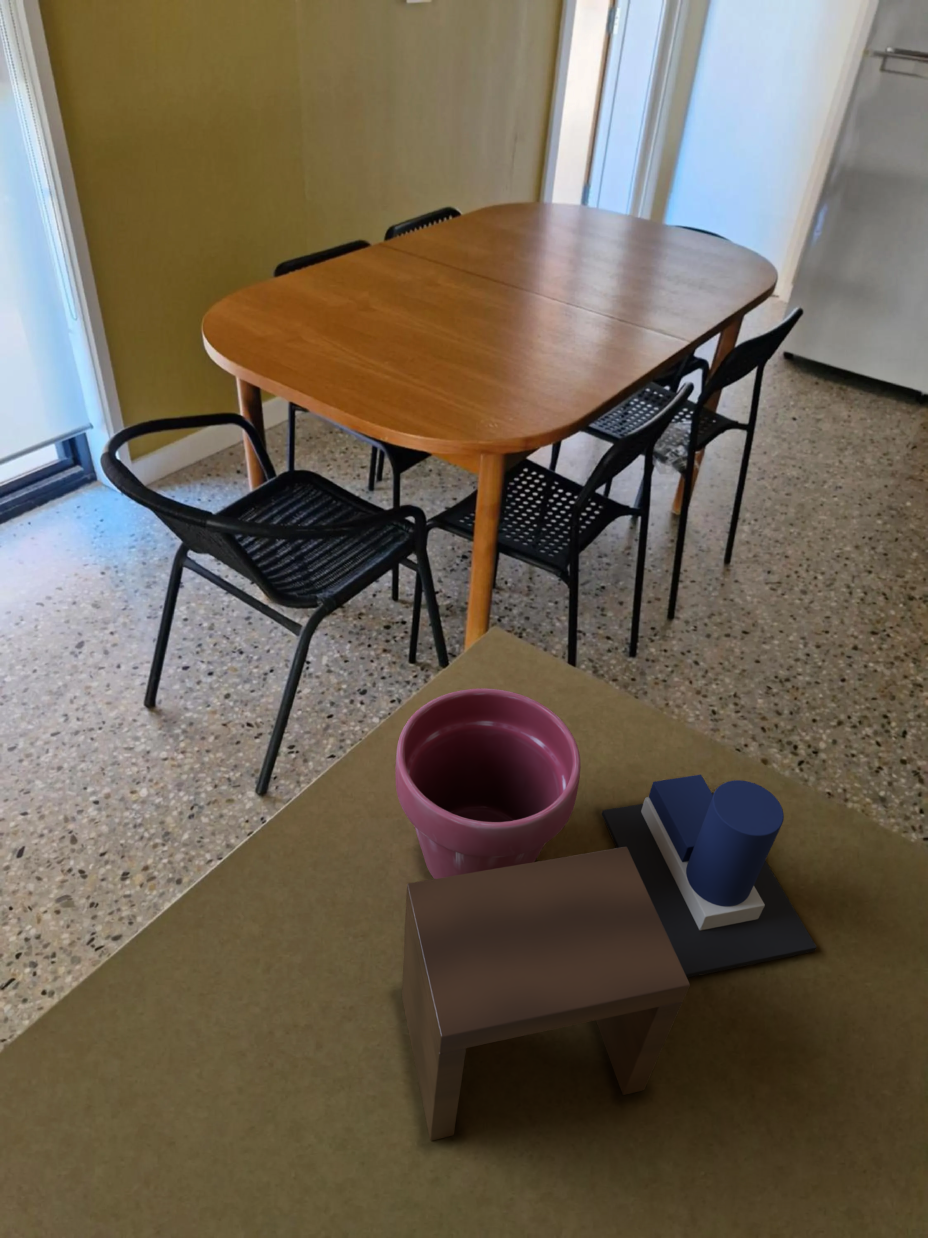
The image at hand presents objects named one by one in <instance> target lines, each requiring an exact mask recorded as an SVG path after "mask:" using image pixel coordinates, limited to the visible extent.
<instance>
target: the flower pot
mask: <svg viewBox="0 0 928 1238" xmlns="http://www.w3.org/2000/svg"><path fill="white" fill-rule="evenodd" d="M395 755H396V756H395V770H394V771H395V789H396V795H397V799H398V802H399V804H400V806H401V809H402V811H403V812H404V814H405V816H406V817H407V819H408V820H409V822H410V823H411V824H412V825H413V826H414V829H415V833H416V836H417V840H418V844H419V846H420V849H421V852H422V854H423V858H424V859H423V860H424V862H425V865H426V868H427V870H428V872H429V873H430V875H431V876H432V879H437V878H443V877H449V876H455V875H461V874H467V873H473V872H479V871H485V870H491V869H497V868H503V867H509V866H514V865H520V864H526V863H532V862H536V860H537V859H538V856H539V855H540V854H541V851H542V850H543V848H544V847H545V845H546V844H547V843H548V842H550V841H551V840H552V839H553V838H555V837H556V836H557V835H558V834H559V833H560V832H561V831H562V830H563V829H564V828H565V826H566V825H567V823H568V821H569V820H570V819H571V816H572V813H573V811H574V809H575V806H576V801H577V796H578V790H579V786H580V785H579V784H580V777H581V768H582V767H581V755H580V750H579V747H578V743H577V741H576V738H575V737H574V735H573V733H572V732H571V730H570V729H569V727H568V726H567V724H566V723H565V722H564V721H563V719H561V718H560V717H559V716H558V714H556V713H555V712H554V711H552V710H551V709H550V708H548V707H547V706H546V705H545V704H542V703H541V702H539V701H537V700H535V699H533V698H531V697H528V696H526V695H523V694H520V693H517V692H514V691H509V690H505V689H504V690H503V689H498V688H497V689H496V688H469V689H462V690H457V691H452V692H449V693H446V694H442V695H440V696H438V697H435V698H433V699H432V700H430V701H428V702H427V703H425V704H424V705H422V706H421V707H420V708H418V709H417V710H416V711H415V712H414V713H413V714H412V715H411V716H410V717H409V718H408V720H407V722H406V723H405V724H404V726H403V728H402V730H401V732H400V734H399V738H398V742H397V746H396V754H395Z"/></svg>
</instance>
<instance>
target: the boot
mask: <svg viewBox="0 0 928 1238" xmlns="http://www.w3.org/2000/svg"><path fill="white" fill-rule="evenodd" d="M650 787H651V788H650V791H649V793H648V796H645V798H644V801H643V803H642V804H643V807H642V810H641V812H642V815H643V817H644V819H645V821H646V823H647V825H648V827H649V829H650V831H651V833H652V835H653V837H654V839H655V841H656V843H657V845H658V847H659V849H660V851H661V853H662V855H663V857H664V859H665V861H666V863H667V865H668V867H669V869H670V871H671V873H672V875H673V877H674V879H675V881H676V883H677V885H678V887H679V890H680V892H681V894H682V896H683V898H684V900H685V902H686V904H687V906H688V908H689V910H690V912H691V914H692V916H693V918H694V920H695V922H696V924H697V926H698V928H699V930H705V929H710V928H715V927H720V926H725V925H730V924H735V923H740V922H745V921H750V920H756V919H758V918H759V916H760V914H761V912H762V910H763V908H764V906H765V905H764V903H763V901H762V899H761V897H760V896H759V894H758V892H757V890H756V889H755V887H754V884H755V882H756V880H757V877H758V875H759V873H760V871H761V869H762V867H763V864H764V862H765V861H766V860H767V858H768V855H769V854H770V852H771V849H772V847H773V845H774V844H775V840H776V838H777V836H778V834H779V832H780V830H781V828H782V826H783V823H784V818H785V816H784V815H785V813H784V809H783V807H782V804H781V803H780V801H779V800H778V798H777V797H776V796H775V795H774V794H773V793H772V792H770V791H769V790H768V789H767V788H765V787H763V786H762V785H760V784H757V783H755V782H751V781H748V780H741V779H740V780H738V779H737V780H736V779H734V780H730V781H726V782H723V783H722V784H720V785H719V786H718V787H717V788H716V789H715V790H714V792H712V791H711V788H710V787H709V785H708V784H707V782H706V780H705V779H704V777H703V775H702V774H696V775H695V774H694V775H689V776H682V777H681V776H680V777H674V778H669V779H662V780H655V781H653V782H652V783H651V786H650ZM712 793H714V795H713V794H712Z"/></svg>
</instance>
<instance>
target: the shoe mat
mask: <svg viewBox="0 0 928 1238" xmlns="http://www.w3.org/2000/svg"><path fill="white" fill-rule="evenodd" d="M711 793H712V794H713V795H714V792H711ZM642 807H643V803H640V804H633V805H627V806H620V807H614V808H608V809H603V810H602V811H601V816H602V818H603V820H604V823H605V825H606V828H607V830H608V832H609V835H610V836H611V838H612V841H613V843H614V846H615V848H621V847H627V848H628V850H629V853H630V855H631V857H632V859H633V861H634V864H635V866H636V868H637V870H638V872H639V874H640V877H641V879H642V881H643V883H644V885H645V888H646V890H647V892H648V894H649V896H650V898H651V901H652V903H653V905H654V907H655V909H656V912H657V914H658V916H659V918H660V920H661V922H662V925H663V927H664V929H665V931H666V933H667V936H668V938H669V940H670V942H671V944H672V946H673V949H674V951H675V953H676V955H677V957H678V960H679V962H680V964H681V966H682V968H683V970H684V973H685V975H686V977H687V979H688V978H693V977H697V976H702V975H706V974H707V975H708V974H712V973H716V972H721V971H726V970H731V969H736V968H740V967H745V966H750V965H755V964H760V963H764V962H770V961H775V960H779V959H783V958H788V957H793V956H799V955H802V954H803V955H804V954H808V953H812V952H815V951H816V950H817V948H818V947H817V945H816V943H815V942H814V939H813V938H812V936H811V935H810V933H809V931H808V930H807V928H806V927H805V925H804V923H803V921H802V920H801V918H800V916H799V914H798V912H797V911H796V909H795V908H794V906H793V904H792V903H791V901H790V900H789V897H788V896H787V895H786V892H785V890H784V889H783V887H782V886H781V884H780V883H779V880H778V879H777V877H776V875H775V874H774V873H773V871H772V869H771V867H770V866H769V864H768V863H767V861H766V860H765V862H764V864H763V867H762V869H761V871H760V873H759V875H758V877H757V880H756V882H755V884H754V887H755V889H756V890H757V892H758V894H759V896H760V897H761V899H762V901H763V903H764V905H765V906H764V908H763V910H762V912H761V914H760V916H759V918H758V919H756V920H750V921H745V922H740V923H735V924H730V925H725V926H720V927H715V928H710V929H705V930H699V928H698V926H697V924H696V922H695V920H694V918H693V916H692V914H691V912H690V910H689V908H688V906H687V904H686V902H685V900H684V898H683V896H682V894H681V892H680V890H679V887H678V885H677V883H676V881H675V879H674V877H673V875H672V873H671V871H670V869H669V867H668V865H667V863H666V861H665V859H664V857H663V855H662V853H661V851H660V849H659V847H658V845H657V843H656V841H655V839H654V837H653V835H652V833H651V831H650V829H649V827H648V825H647V823H646V821H645V819H644V817H643V815H642V812H641V810H642Z"/></svg>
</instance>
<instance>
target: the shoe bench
mask: <svg viewBox="0 0 928 1238" xmlns="http://www.w3.org/2000/svg"><path fill="white" fill-rule="evenodd" d="M405 896H406V897H405V914H404V915H405V917H404V937H403V938H404V939H403V957H402V958H403V959H402V983H401V999H402V1005H403V1011H404V1015H405V1020H406V1025H407V1030H408V1036H409V1040H410V1045H411V1050H412V1055H413V1060H414V1067H415V1071H416V1076H417V1083H418V1087H419V1092H420V1096H421V1102H422V1106H423V1112H424V1117H425V1123H426V1128H427V1133H428V1137H429V1140H430V1141H435V1140H439V1139H443V1138H449V1137H452V1136H454V1135H455V1131H456V1130H455V1129H456V1121H457V1115H458V1110H459V1109H458V1108H459V1102H460V1096H461V1095H460V1094H461V1087H462V1080H463V1076H464V1075H463V1074H464V1068H465V1059H466V1053H467V1049H468V1048H473V1047H477V1046H482V1045H486V1044H491V1043H496V1042H501V1041H506V1040H510V1039H515V1038H519V1037H523V1036H529V1035H533V1034H537V1033H542V1032H547V1031H552V1030H557V1029H561V1028H566V1027H572V1026H577V1025H580V1024H585V1023H590V1022H594V1021H595V1022H596V1025H597V1027H598V1030H599V1033H600V1035H601V1038H602V1041H603V1045H604V1048H605V1050H606V1053H607V1055H608V1058H609V1061H610V1064H611V1067H612V1069H613V1072H614V1074H615V1077H616V1080H617V1083H618V1086H619V1088H620V1091H621V1094H622V1095H623V1096H625V1095H630V1094H633V1093H634V1094H635V1093H638V1092H642V1091H644V1090H645V1089H646V1087H647V1084H648V1082H649V1079H650V1077H651V1075H652V1073H653V1070H654V1068H655V1066H656V1064H657V1062H658V1059H659V1057H660V1054H661V1052H662V1050H663V1048H664V1046H665V1043H666V1041H667V1039H668V1037H669V1034H670V1032H671V1029H672V1026H673V1025H674V1022H675V1021H676V1018H677V1017H678V1014H679V1011H680V1009H681V1007H682V1004H683V1001H684V999H685V998H686V995H687V993H688V991H689V988H690V986H691V984H690V982H689V979H688V978H687V977H686V975H685V973H684V970H683V968H682V966H681V964H680V962H679V960H678V957H677V955H676V953H675V951H674V949H673V946H672V944H671V942H670V940H669V938H668V936H667V933H666V931H665V929H664V927H663V925H662V922H661V920H660V918H659V916H658V914H657V912H656V909H655V907H654V905H653V903H652V901H651V898H650V896H649V894H648V892H647V890H646V888H645V885H644V883H643V881H642V879H641V877H640V874H639V872H638V870H637V868H636V866H635V864H634V861H633V859H632V857H631V855H630V853H629V850H628V848H627V847H621V848H616V847H614V848H610V849H604V850H597V851H593V852H592V851H591V852H587V853H581V854H574V855H569V856H568V855H567V856H563V857H562V856H561V857H557V858H551V859H545V860H539V861H535V862H532V863H526V864H520V865H514V866H509V867H503V868H497V869H491V870H485V871H479V872H473V873H467V874H461V875H455V876H449V877H443V878H437V879H434V878H432V879H431V878H430V879H425V880H420V881H416V882H407V884H406V893H405Z"/></svg>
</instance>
